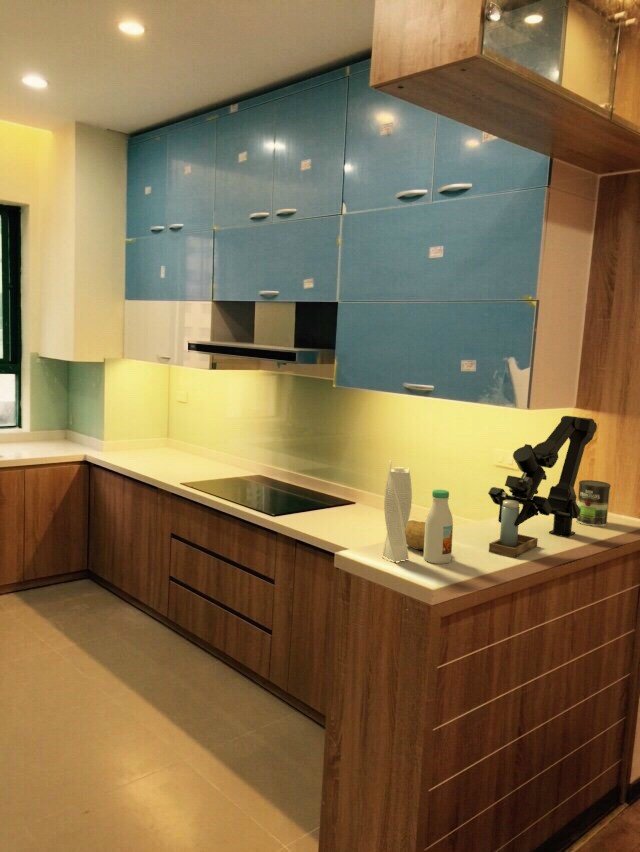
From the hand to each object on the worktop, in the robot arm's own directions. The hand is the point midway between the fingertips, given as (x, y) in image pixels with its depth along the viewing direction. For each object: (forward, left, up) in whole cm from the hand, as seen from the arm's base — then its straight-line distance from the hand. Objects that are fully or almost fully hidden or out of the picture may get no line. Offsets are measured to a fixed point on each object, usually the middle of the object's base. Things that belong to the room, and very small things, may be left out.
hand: (507, 523), depth 211 cm
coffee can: (-55, +6, -9) cm, 56 cm away
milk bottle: (+21, -11, -9) cm, 25 cm away
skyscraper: (+29, -20, -9) cm, 36 cm away
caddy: (-5, 0, -9) cm, 10 cm away
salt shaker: (-1, 0, -7) cm, 7 cm away
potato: (+15, -21, -9) cm, 27 cm away
